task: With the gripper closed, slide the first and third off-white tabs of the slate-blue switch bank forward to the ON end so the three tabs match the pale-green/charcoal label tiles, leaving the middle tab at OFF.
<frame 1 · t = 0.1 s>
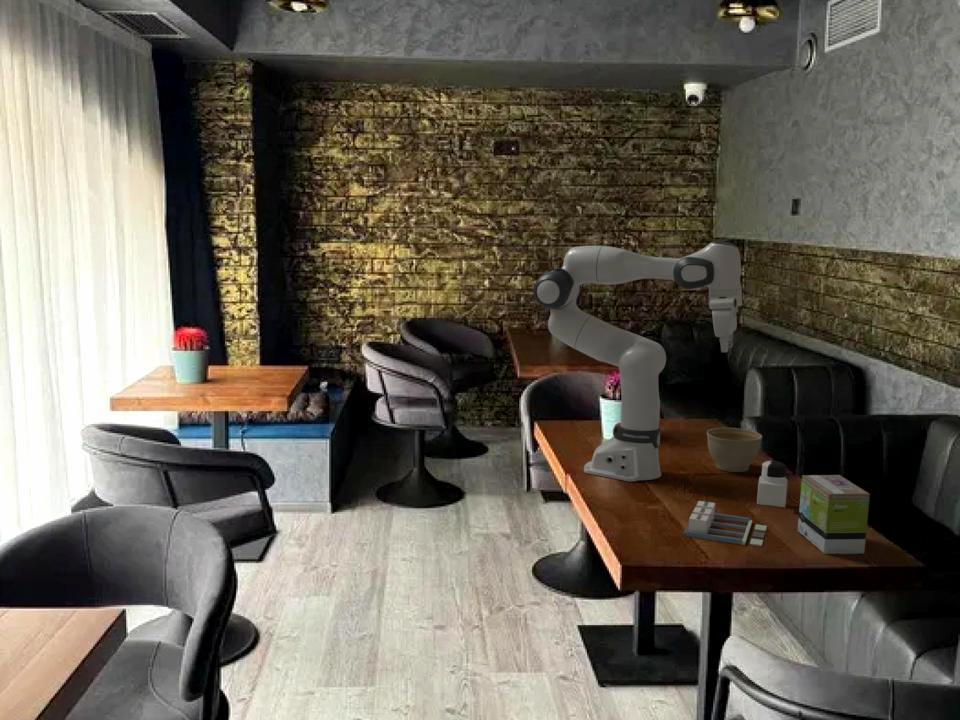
hand: (726, 349, 256), 39 cm above the table, tool pointing down, fingers open, 8 cm apart
switch bank: (717, 534, 220), on the table
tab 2: (702, 518, 221), point 3 cm above the table, slide at 0.0 cm
tab 3: (705, 511, 226), point 3 cm above the table, slide at 0.0 cm
tea box: (829, 544, 217), on the table
tab 1: (698, 525, 216), point 3 cm above the table, slide at 0.0 cm
planter bowl: (731, 469, 280), on the table
medicine bottle: (770, 507, 243), on the table
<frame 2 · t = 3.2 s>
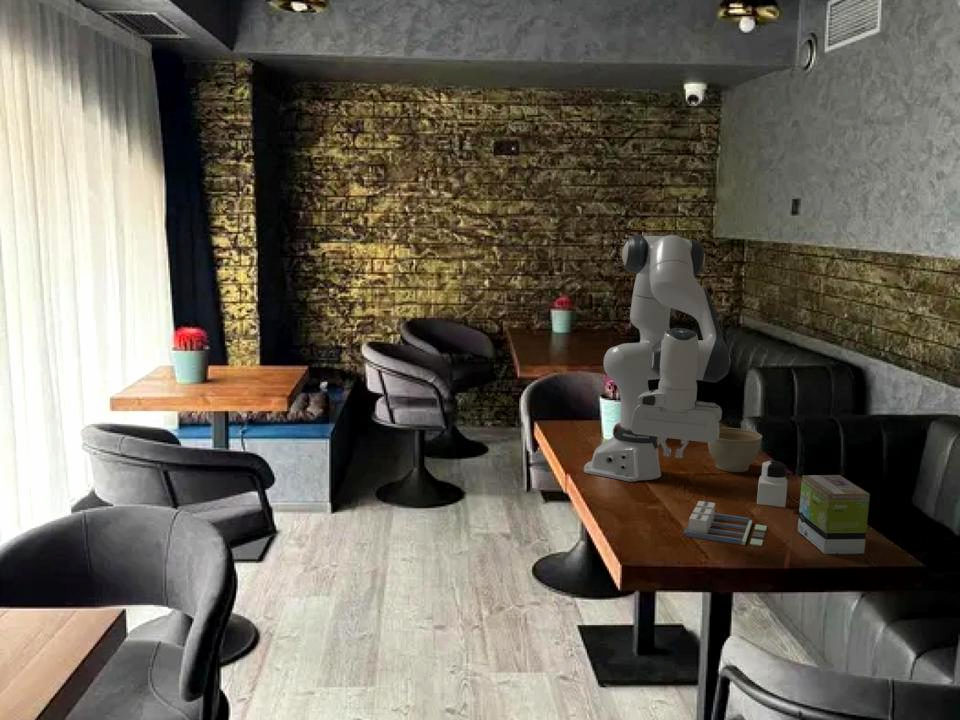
hand: (673, 456, 216), 19 cm above the table, tool pointing down, fingers closed
nothing on the table moved.
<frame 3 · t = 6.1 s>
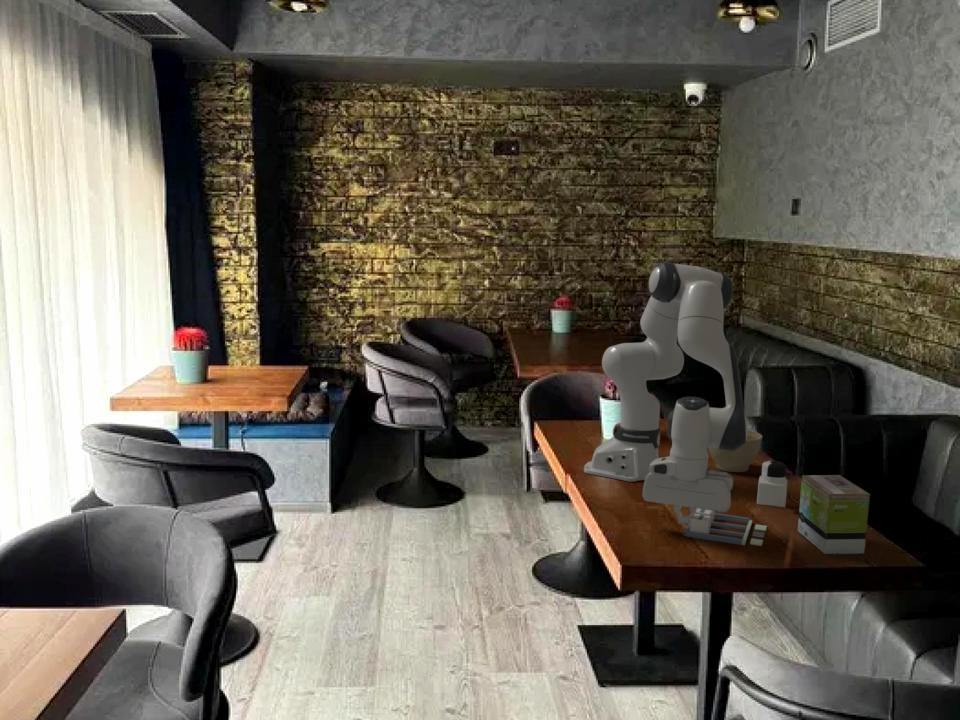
hand: (684, 523, 217), 3 cm above the table, tool pointing down, fingers closed
tab 1: (700, 525, 216), point 3 cm above the table, slide at 0.4 cm, touching gripper
everything else where it was.
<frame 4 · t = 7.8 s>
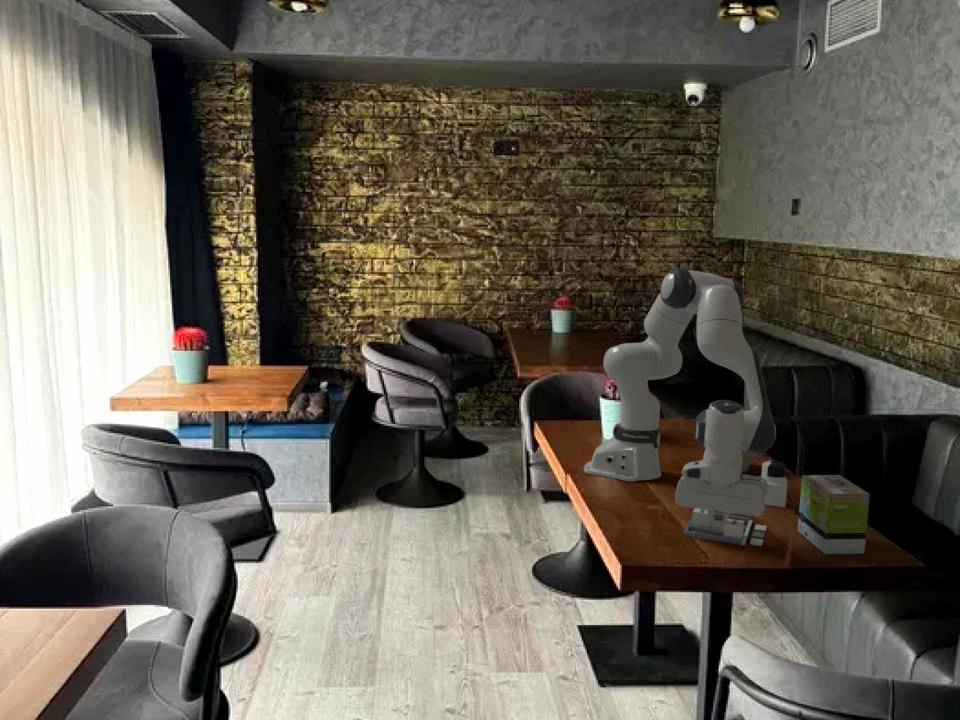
hand: (717, 528, 215), 3 cm above the table, tool pointing down, fingers closed
tab 1: (733, 530, 213), point 3 cm above the table, slide at 8.0 cm, touching gripper
everything else where it was.
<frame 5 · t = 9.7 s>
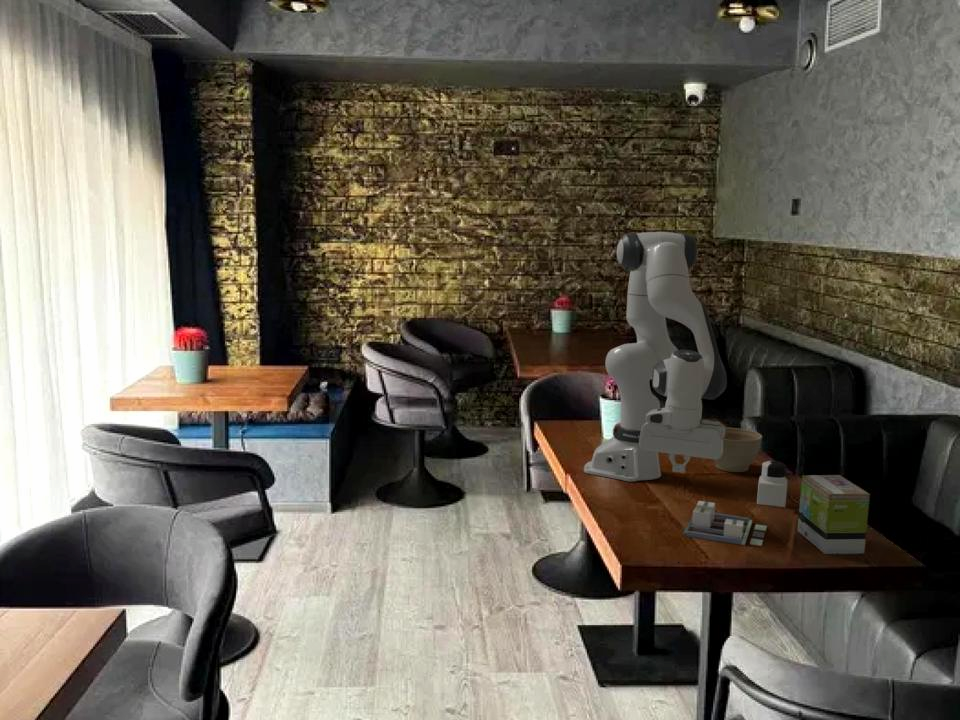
hand: (678, 471, 228), 13 cm above the table, tool pointing down, fingers closed
tab 1: (733, 530, 213), point 3 cm above the table, slide at 8.0 cm
everything else where it was.
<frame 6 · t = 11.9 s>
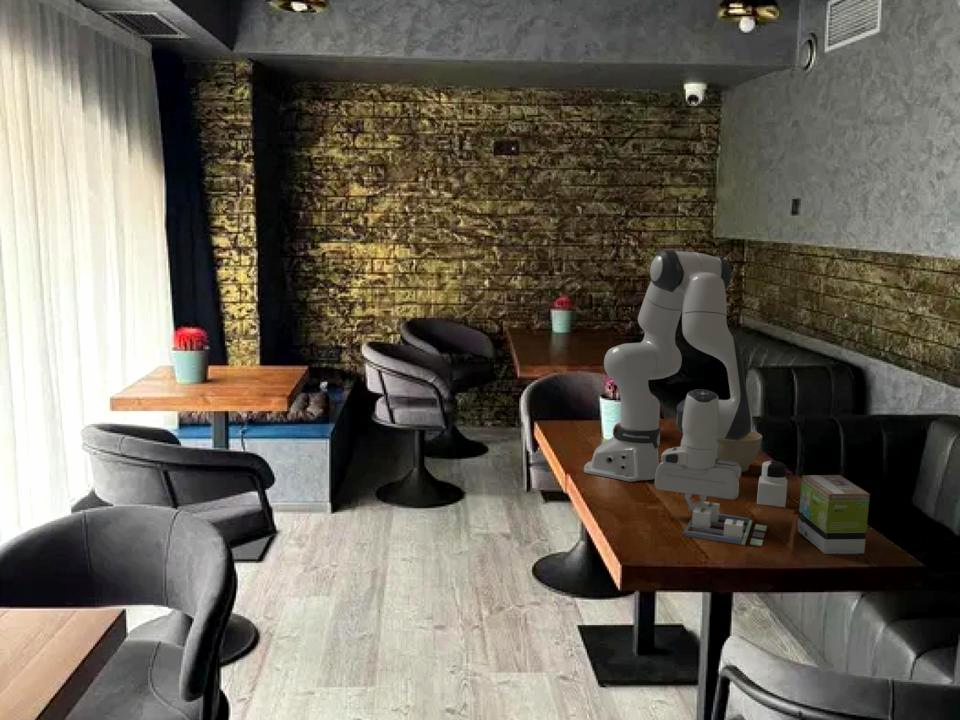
hand: (694, 511, 227), 3 cm above the table, tool pointing down, fingers closed
tab 3: (709, 512, 226), point 3 cm above the table, slide at 1.1 cm, touching gripper
everything else where it was.
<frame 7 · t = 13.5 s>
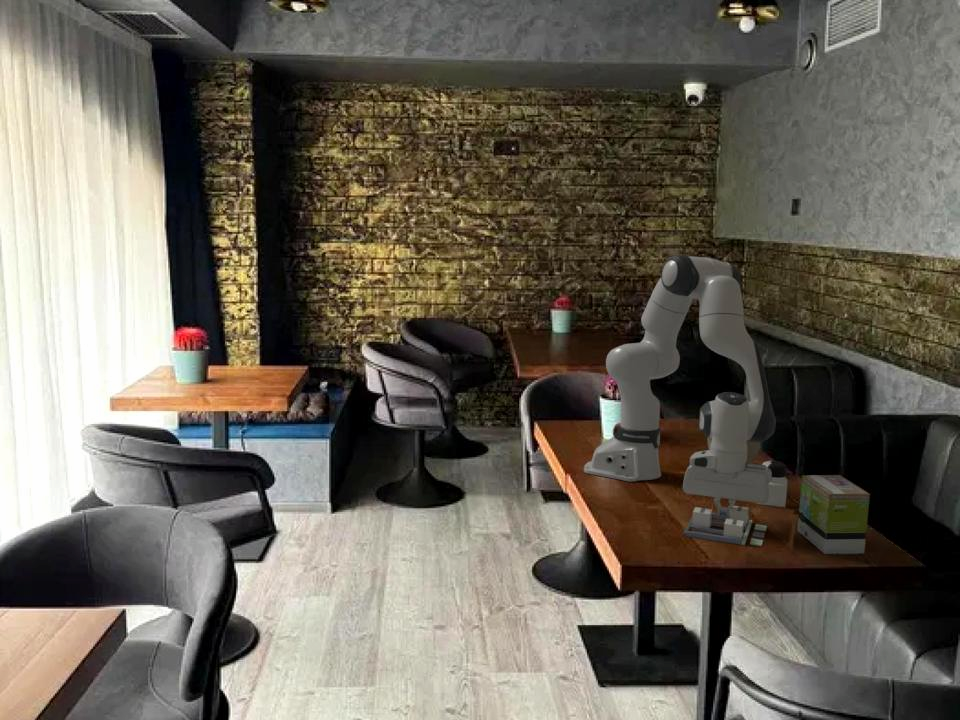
hand: (723, 515, 225), 3 cm above the table, tool pointing down, fingers closed
tab 3: (738, 516, 223), point 3 cm above the table, slide at 8.0 cm, touching gripper
everything else where it was.
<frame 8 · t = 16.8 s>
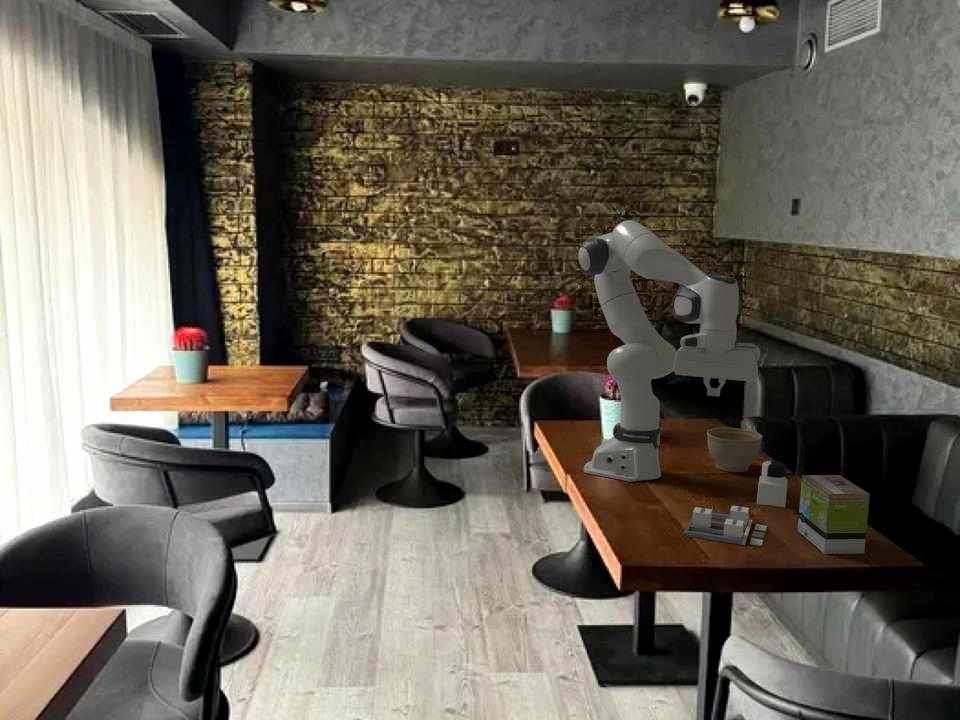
hand: (713, 395, 229), 31 cm above the table, tool pointing down, fingers closed
tab 3: (738, 516, 223), point 3 cm above the table, slide at 8.0 cm
everything else where it was.
at the end: tab 1 slide at 8.0 cm; tab 3 slide at 8.0 cm; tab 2 slide at 0.0 cm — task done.
